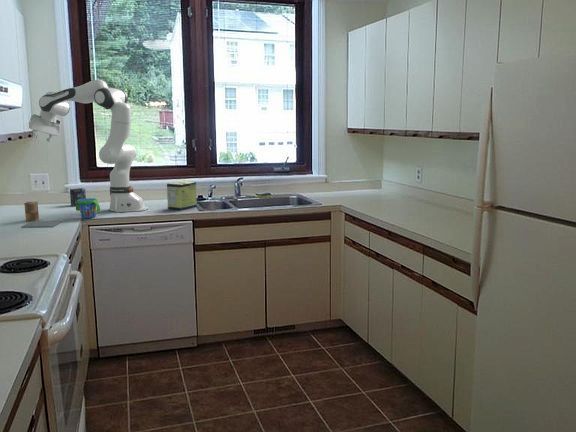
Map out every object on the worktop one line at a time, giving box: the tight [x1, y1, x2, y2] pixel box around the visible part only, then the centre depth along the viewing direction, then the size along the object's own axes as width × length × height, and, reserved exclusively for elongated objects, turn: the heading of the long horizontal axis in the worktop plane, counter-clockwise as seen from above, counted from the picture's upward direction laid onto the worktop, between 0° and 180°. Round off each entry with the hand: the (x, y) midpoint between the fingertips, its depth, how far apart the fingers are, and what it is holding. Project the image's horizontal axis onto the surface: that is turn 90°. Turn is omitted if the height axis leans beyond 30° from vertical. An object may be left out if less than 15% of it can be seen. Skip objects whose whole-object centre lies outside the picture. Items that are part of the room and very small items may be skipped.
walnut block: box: [23, 201, 40, 223], centre depth 305 cm, size 5×5×10 cm
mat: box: [21, 220, 63, 229], centre depth 295 cm, size 16×14×1 cm
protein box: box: [166, 180, 198, 211], centre depth 343 cm, size 10×16×16 cm
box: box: [69, 187, 87, 208], centre depth 354 cm, size 8×6×11 cm
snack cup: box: [75, 197, 101, 219], centre depth 313 cm, size 16×10×10 cm
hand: (41, 139), depth 347 cm, fingers open, 8 cm apart
